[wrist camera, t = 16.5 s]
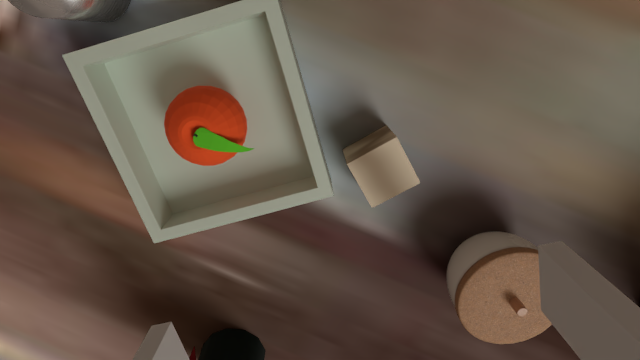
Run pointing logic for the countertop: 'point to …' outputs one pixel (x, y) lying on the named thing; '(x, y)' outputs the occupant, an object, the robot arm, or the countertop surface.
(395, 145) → the wood block
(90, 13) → the metal can
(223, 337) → the wine bottle
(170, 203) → the sage tray
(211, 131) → the clementine
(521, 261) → the lidded jar
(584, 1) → the countertop surface
